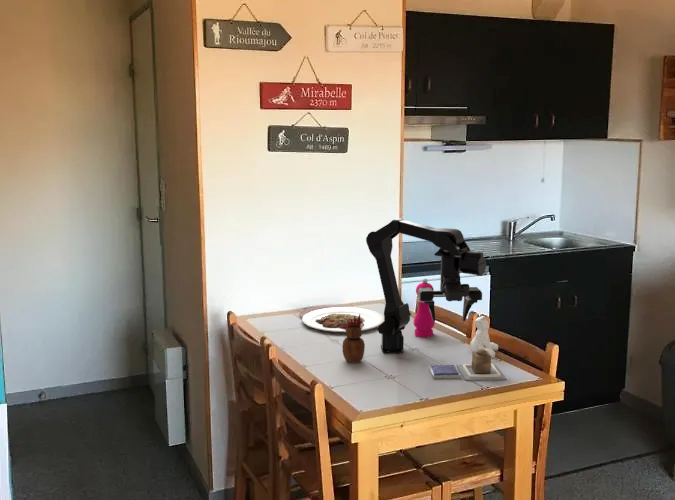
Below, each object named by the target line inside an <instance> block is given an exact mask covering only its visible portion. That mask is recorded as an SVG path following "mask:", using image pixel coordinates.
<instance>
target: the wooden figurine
mask: <svg viewBox="0 0 675 500" xmlns="http://www.w3.org/2000/svg"><path fill="white" fill-rule="evenodd" d="M362 331H363V330H361V328H360V314H359V317H358V321H357V323H356V318H355V316H354V322H353V321H352V319H351V324H350V322H348V327H347V328H346V332H345V336H346V337H345V338H344V339H343V341H342V354H343V358H344V360H345V361H347V362H348V363H352V364H354V363H360V362H361V361H362V360H363V358H364V354H365V346H366V345H365V341H364V339H363V338H361V337H362V334H363V332H362Z"/></svg>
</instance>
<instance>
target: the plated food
mask: <svg viewBox="0 0 675 500" xmlns="http://www.w3.org/2000/svg"><path fill="white" fill-rule="evenodd" d="M359 314H360V328H361V330H362V331H367V330H372V329H374V328H377V327H378V326H379V325H380V324H381V323H383V322H384V315H383V314H381V313H380V312H377V311H376V310H372V309H367V308H362V307H354V306H353V307H351V306H339V307H337V306H335V307H325V308H320V309H314V310H312V311H309V312H306V313H305V314H304V315H303V316H302V319H301V320H302V323H303V324H304V325H306V326H308V327H310V328H312V329H316V330H319V331H320V330H321V331H324V332H325V331H326V332H331V333H346V328H347V327H348V322H350V324H351V319H352V321H353V322H354V316H355V318H356V323H357V321H358V317H359ZM325 316H327V317H325ZM322 317H325V318H322ZM321 318H322V319H321Z"/></svg>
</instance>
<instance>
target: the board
mask: <svg viewBox="0 0 675 500" xmlns="http://www.w3.org/2000/svg"><path fill="white" fill-rule="evenodd" d="M456 368H457V370H458V371H459V373H460V375H461V377H463V379H464V381H466V382H467V381H469V382H471V381H474V382H477V381H478V382H479V381H480V382H481V381H507V380H508V378H507V376H505V374H504V373H503V372H502V370H501V369H500V367H499V366H498V365H497V364H496V363H491V373H490V374H475V373H474V372H473V370H472V363H470V364H469V363H467V364H466V363H465V364H456Z"/></svg>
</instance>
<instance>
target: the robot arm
mask: <svg viewBox="0 0 675 500" xmlns="http://www.w3.org/2000/svg"><path fill="white" fill-rule="evenodd" d="M399 234H401V235H405V236H409V237H413V238H417V239H421V240H424V241H427V242H430V243H432V244H433V245H434V246H435V247H437V248H439V249H438V250H437V251H436V252H435V253H434V256H435V257H441V258H440V286H439V290H434V291H433V290H432V289H431V288H419V289H418V295H417V297H419V299H420V301H424V303H427V304H428V307H429V310H430V313H431V316H432V319H433V322H435V321H436V313H435V312H436V311H435V300H434V298H445V300H446V301H447V302H452V301H453V302H454V301H455V302H462V301H463V306H462V307H463V308H462V321H463V322H465V321H466V320H467V317H468V314H469V312H470V309H471V308H472V306H473V305H474V304H477V303H478V301H482V300H483V292H482V290H480V288H478V287H477V286H470V284H469V283H462V282H461V273H462V274H466V275H467V274H468V275H473V276H480V277H481V276H484V274H485V272H486V269H487V262H486V258H485V257H484V252H482V251H472V250H471V249H470V247H469V245H468V244H467V242H466V240H465V238H464V234H463V232H462V231H461V230H460V229H456V228H438V227H437V228H436V227H433V226H429V225H424V224H422V223H421V224H420V223H418V222H413V221H410V220H406V219H404V218H401V217H400V218H395V219H392V220H391V221H390V222H389V223H387V224H385V225H384V226H382V227H380V228H379V229H377V230H373V231H370V232H369V233H367V236H366V238H365V240H366V241H365V242H366V245H367V247H368V250H369V253H370V254H371V256H373V257H374V259H375V261H376V262H375V263H376V266H377V269H378V270H377V271H378V274H379V278H380V282H381V288H382V291H383V296H384V300H385V305H384V311H383V317H384V322H383V323H381V324H380V325H379V326H378V327H376V328H377V331H378V333H379V334H380V335H381V344H380V349H381V352H382V353H388V354H389V353H403V352H404V351H403V349H404V341H405V339H404V334H403V332H402V330H405V329H406V326H407V325H408V324H409V322H410V321H411V316H412V313H411V311H410V305H409V303H408V302H407V303H404V302H403V300H402V298H401V295H400V292H399V291H400V290H399V287H398V283H397V282H398V281H397V278H396V274H395V269H394V266H393V265H394V263H393V260H392V256H391V255H392V252H393V251H392V250H393V240H394V238H396V237H397V236H398V235H399ZM435 323H436V322H435Z"/></svg>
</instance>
